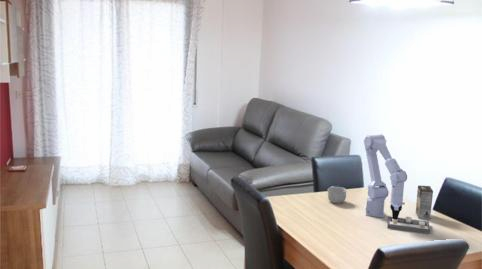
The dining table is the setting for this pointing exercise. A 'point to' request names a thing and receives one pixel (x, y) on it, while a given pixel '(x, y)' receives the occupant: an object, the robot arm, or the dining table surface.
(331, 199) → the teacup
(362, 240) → the dining table surface
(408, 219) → the middle button
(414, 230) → the button board
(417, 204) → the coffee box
